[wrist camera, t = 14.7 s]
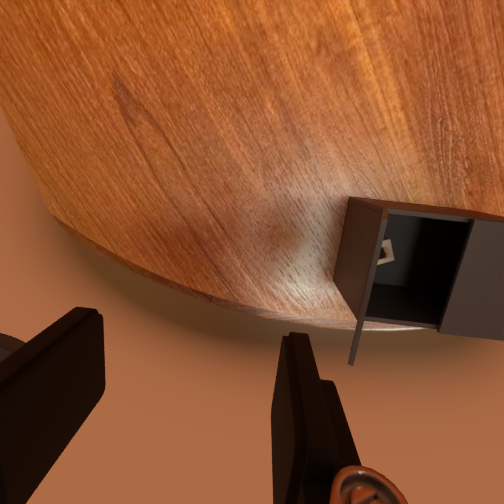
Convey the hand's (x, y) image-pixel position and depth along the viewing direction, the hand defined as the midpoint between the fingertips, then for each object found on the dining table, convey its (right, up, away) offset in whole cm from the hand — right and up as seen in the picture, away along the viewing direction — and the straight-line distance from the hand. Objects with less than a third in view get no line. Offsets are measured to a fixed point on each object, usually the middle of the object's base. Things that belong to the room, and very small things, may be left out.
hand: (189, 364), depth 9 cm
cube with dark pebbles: (+14, +4, +20) cm, 25 cm away
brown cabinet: (+17, +4, +20) cm, 27 cm away
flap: (+9, +2, +9) cm, 13 cm away
